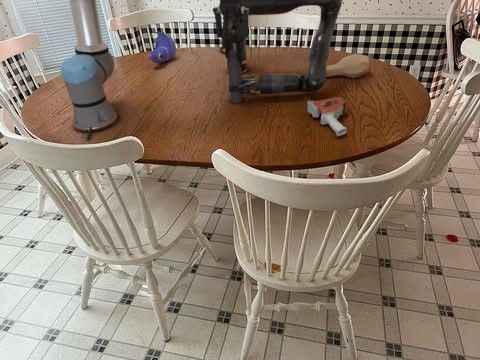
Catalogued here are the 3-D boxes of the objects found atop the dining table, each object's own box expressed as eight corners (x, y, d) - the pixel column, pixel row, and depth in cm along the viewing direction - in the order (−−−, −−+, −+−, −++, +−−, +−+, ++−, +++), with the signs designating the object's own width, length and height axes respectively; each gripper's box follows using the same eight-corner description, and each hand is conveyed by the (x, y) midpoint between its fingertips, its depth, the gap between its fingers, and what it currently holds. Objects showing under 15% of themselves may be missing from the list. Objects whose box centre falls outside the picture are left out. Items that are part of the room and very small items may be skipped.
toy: (164, 63, 199) (144, 69, 176) (159, 31, 192) (138, 32, 170) (181, 62, 196) (162, 68, 174) (177, 30, 190) (157, 31, 167)
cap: (242, 56, 133) (241, 51, 132) (233, 59, 131) (233, 54, 129) (234, 54, 136) (233, 49, 134) (225, 57, 133) (225, 52, 132)
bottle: (244, 98, 144) (242, 52, 133) (239, 103, 141) (236, 56, 130) (233, 97, 146) (230, 51, 135) (228, 101, 142) (224, 55, 131)
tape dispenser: (341, 143, 115) (361, 114, 127) (344, 129, 111) (364, 101, 124) (292, 129, 122) (315, 103, 135) (293, 115, 119) (316, 90, 131)
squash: (372, 78, 155) (374, 59, 148) (326, 86, 156) (326, 68, 150) (365, 66, 162) (367, 47, 156) (321, 74, 164) (321, 56, 157)
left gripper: (201, -11, 120) (209, 58, 134) (248, -11, 113) (251, 62, 127) (212, -15, 125) (218, 52, 139) (257, -15, 119) (259, 56, 133)
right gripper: (270, 68, 143) (228, 70, 143) (273, 81, 131) (227, 83, 132) (270, 86, 147) (230, 88, 148) (273, 100, 136) (229, 102, 136)
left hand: (233, 57), depth 133 cm, fingers closed on cap, 4 cm apart
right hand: (229, 86), depth 140 cm, fingers closed on bottle, 5 cm apart
